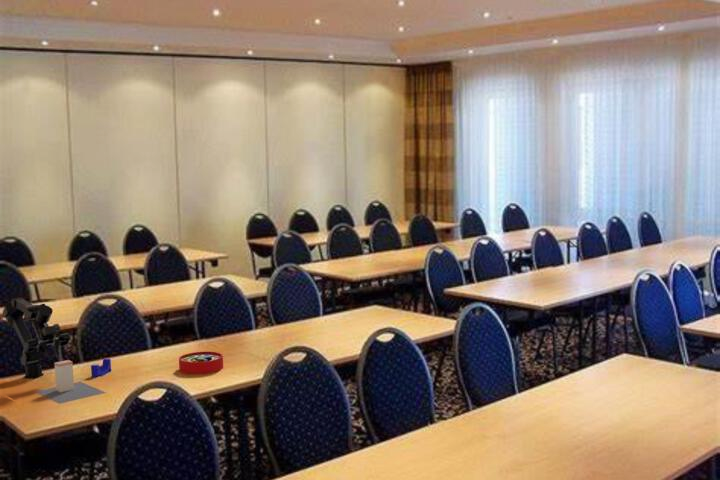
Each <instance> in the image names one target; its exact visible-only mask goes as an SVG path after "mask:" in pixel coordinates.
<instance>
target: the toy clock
mask: <svg viewBox="0 0 720 480" xmlns="http://www.w3.org/2000/svg"><path fill="white" fill-rule="evenodd" d="M178 366H179V369H178V370H179V372H180V373H181V374H184V375H190V374H192V375H193V374H195V376H196V374H201V375H208V373H209V374H214V373H217V371H218V372H220V371H222V370H223V369H224V355H223V354H222V353H220V352H217V351H208V350H207V351H195V352H190V353H185V354H183V355H180V356H179V357H178ZM221 369H222V370H221ZM213 372H214V373H213ZM193 376H194V375H193Z"/></svg>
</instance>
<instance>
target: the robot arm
mask: <svg viewBox="0 0 720 480" xmlns="http://www.w3.org/2000/svg"><path fill="white" fill-rule="evenodd" d="M53 313H54V312H53V308H51V306H49V305H46V304H45V303H40V304H33V303H31V302H30V301H27V300H25V298H23V297H17V298H13V299H11V301H10V302H9V303H8V304H6V305H5V306H4V308H3V310H2V317H4V318H5V320H6V322H7V323H9V324H11V325H12V326H13V327H14V330H15V332H16V334H17V336H18V338H19V340H20V343H21V344H22V346H23V351H22V355H21V357H20V363H21V365H23V366H24V376H22V378H24V379H37V378H40V377H41V376H44V374H45V373H43V369H42V365H41V363H44V362H45V357H46V358H47V359H49V360H51V361H52V360H53V359H52V358H53V357H52V354H51V352H50V350H49V348H48V345H52V348H51V350H52V352H53V353H54V357H56V359H59V353H60V352H59V351H60V350H59V348H60V347H63V346H68V345H69V343H70V340H71V339H72V337H71V334H70V333H67V332H66V333H61V334H59V336H58V337H56V334H57V333H58V332H60V331H61V326H60V324H59V323H54V324H53V325H50V326H49V325H48V322H49V321H50V319H51V317H52V314H53ZM24 316H25V318H27V320H32V322H31V328H32V329H34V332H35V333H36V336H35V337H36V338H37V339H36V338H33V337H32V334H31V333H30V331H29V328H28V326H27V325H26V322H25V320H24ZM55 337H56V338H55Z"/></svg>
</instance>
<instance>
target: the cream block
mask: <svg viewBox="0 0 720 480" xmlns="http://www.w3.org/2000/svg"><path fill="white" fill-rule="evenodd" d="M54 377H55V387H56V391H59V392H64V391H69V390H73V389H74V383H75V382H74V367H73V361H71V360H70V359H66V360H62V361H56V362H54Z"/></svg>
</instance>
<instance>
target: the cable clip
mask: <svg viewBox="0 0 720 480" xmlns="http://www.w3.org/2000/svg"><path fill="white" fill-rule="evenodd" d="M111 362H112V360H111V358H103V359H102V364H101V365H100V364H91V365H90V369H91V371H90V373H91V378H99V377H103V376H105V375H107V374H108V373H110V372H112V364H111Z"/></svg>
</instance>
